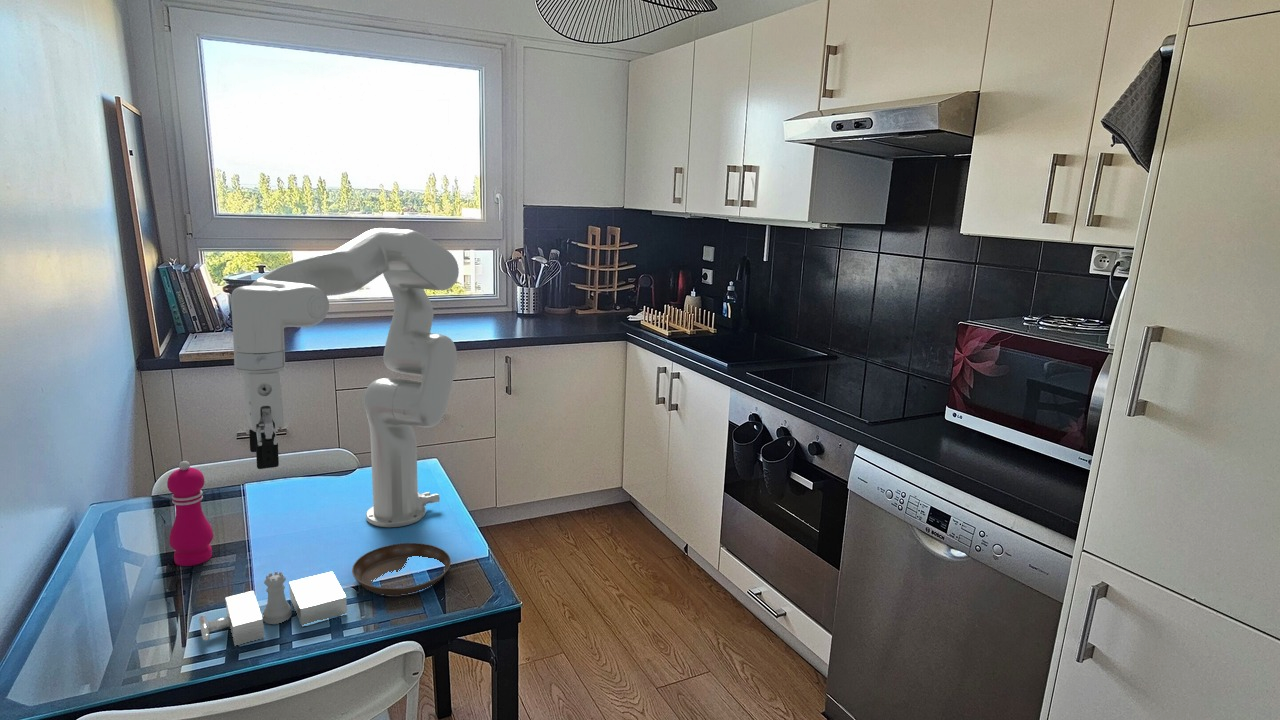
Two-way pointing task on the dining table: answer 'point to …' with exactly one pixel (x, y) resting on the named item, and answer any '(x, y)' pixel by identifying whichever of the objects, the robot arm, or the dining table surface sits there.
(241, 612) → the bench vise
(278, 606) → the rook chess piece
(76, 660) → the dining table surface
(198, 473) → the pepper mill
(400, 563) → the plant saucer
